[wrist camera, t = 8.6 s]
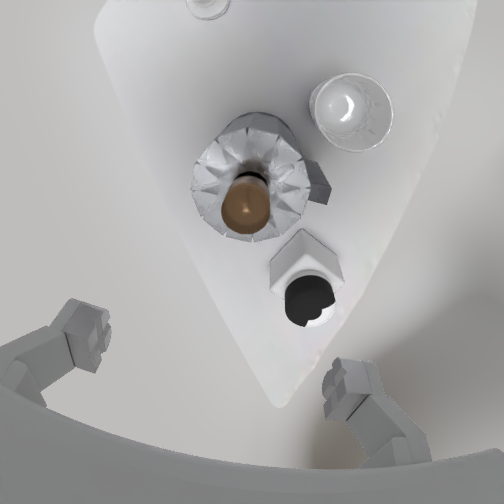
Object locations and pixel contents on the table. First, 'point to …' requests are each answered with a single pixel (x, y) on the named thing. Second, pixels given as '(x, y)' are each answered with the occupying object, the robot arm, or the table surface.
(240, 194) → the plunger
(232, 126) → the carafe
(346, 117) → the white cup
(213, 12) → the chess pawn
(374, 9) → the table surface
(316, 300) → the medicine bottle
